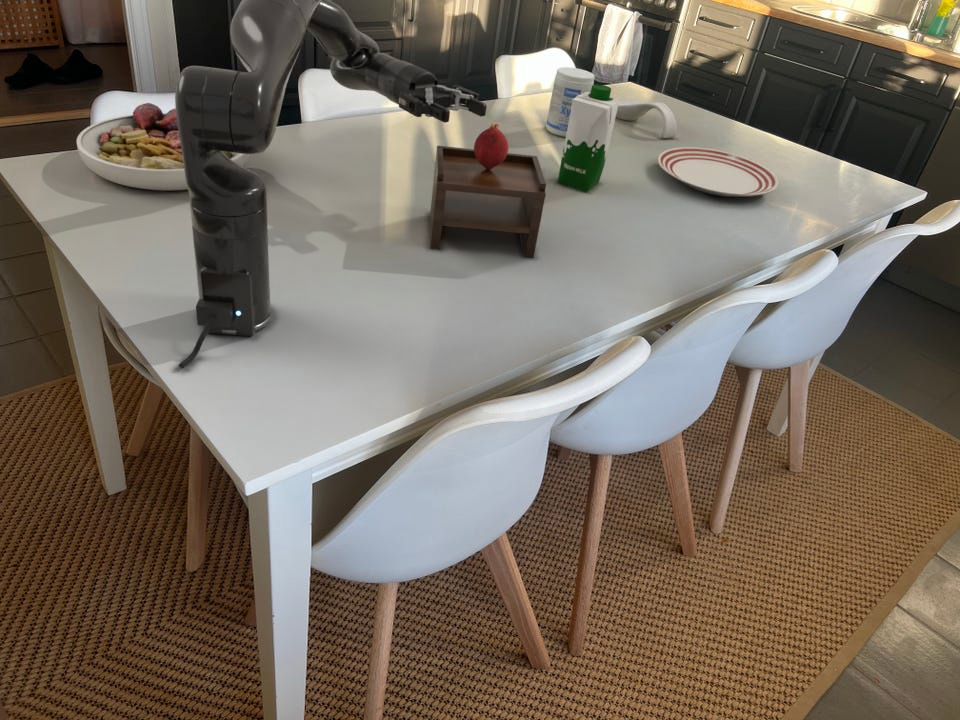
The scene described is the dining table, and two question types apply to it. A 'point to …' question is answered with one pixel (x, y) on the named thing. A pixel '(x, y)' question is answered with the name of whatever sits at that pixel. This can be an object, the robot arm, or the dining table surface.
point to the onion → (491, 147)
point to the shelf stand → (487, 195)
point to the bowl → (139, 150)
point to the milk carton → (588, 138)
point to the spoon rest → (637, 109)
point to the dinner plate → (717, 172)
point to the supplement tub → (566, 97)
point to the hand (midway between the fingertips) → (466, 113)
